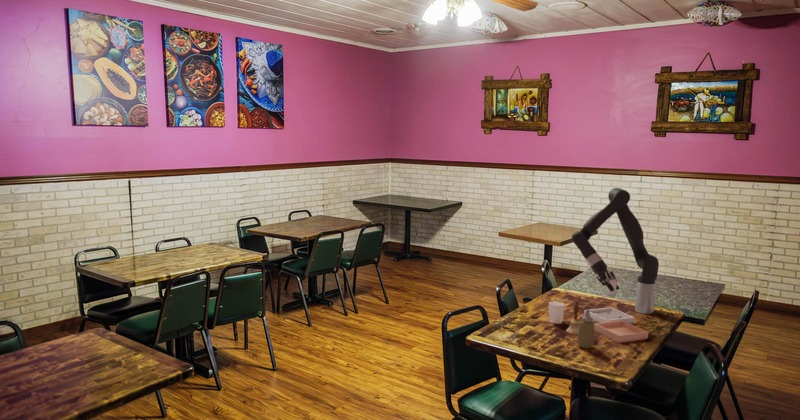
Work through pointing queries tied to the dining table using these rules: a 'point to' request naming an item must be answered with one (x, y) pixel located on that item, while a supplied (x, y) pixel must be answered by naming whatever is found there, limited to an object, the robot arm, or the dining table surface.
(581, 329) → the squeeze bottle
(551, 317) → the white cup
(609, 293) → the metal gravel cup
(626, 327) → the terracotta bin
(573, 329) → the hand bell
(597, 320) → the bin
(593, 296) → the dining table surface
